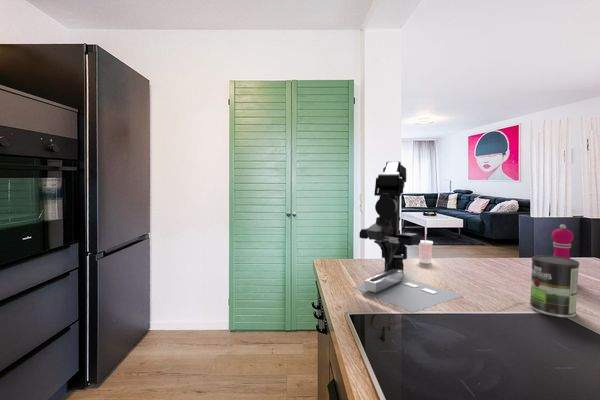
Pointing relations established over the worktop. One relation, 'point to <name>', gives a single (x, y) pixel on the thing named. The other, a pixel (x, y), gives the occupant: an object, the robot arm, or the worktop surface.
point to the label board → (412, 294)
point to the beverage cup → (425, 250)
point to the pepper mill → (562, 241)
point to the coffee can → (554, 285)
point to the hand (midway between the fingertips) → (388, 263)
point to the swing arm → (383, 280)
